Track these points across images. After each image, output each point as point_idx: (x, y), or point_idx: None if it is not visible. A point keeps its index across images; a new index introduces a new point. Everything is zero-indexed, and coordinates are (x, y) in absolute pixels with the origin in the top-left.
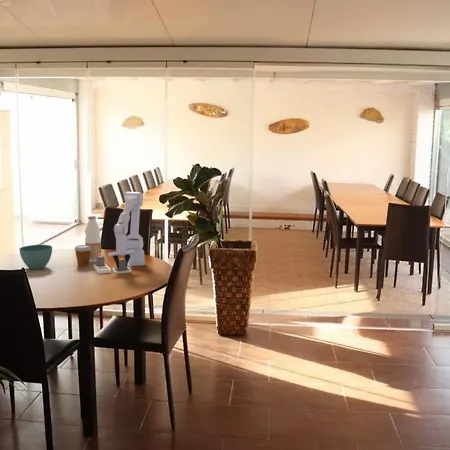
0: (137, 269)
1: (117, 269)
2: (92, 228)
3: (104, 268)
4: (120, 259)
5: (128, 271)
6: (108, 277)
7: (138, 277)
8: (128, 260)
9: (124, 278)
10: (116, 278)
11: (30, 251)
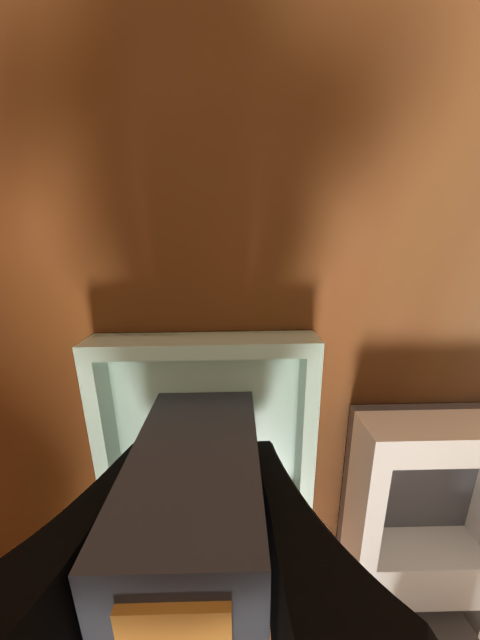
0: (9, 481)
1: None
2: None
3: (399, 549)
4: (215, 622)
5: (129, 342)
6: (450, 208)
7: (8, 5)
8: (13, 552)
9: (249, 33)
10: (367, 91)
11: None
